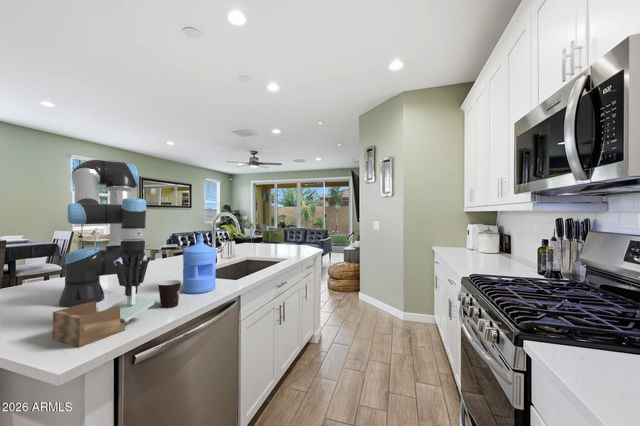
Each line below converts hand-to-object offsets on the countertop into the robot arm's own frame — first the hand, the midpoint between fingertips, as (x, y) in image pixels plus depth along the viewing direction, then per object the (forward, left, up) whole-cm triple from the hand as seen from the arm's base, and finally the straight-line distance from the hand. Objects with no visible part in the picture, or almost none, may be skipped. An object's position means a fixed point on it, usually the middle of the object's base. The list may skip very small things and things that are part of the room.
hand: (131, 303), depth 101 cm
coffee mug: (-1, +19, -6) cm, 20 cm away
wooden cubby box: (0, -13, -6) cm, 14 cm away
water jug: (-8, +41, -6) cm, 42 cm away
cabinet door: (0, -6, -4) cm, 7 cm away
